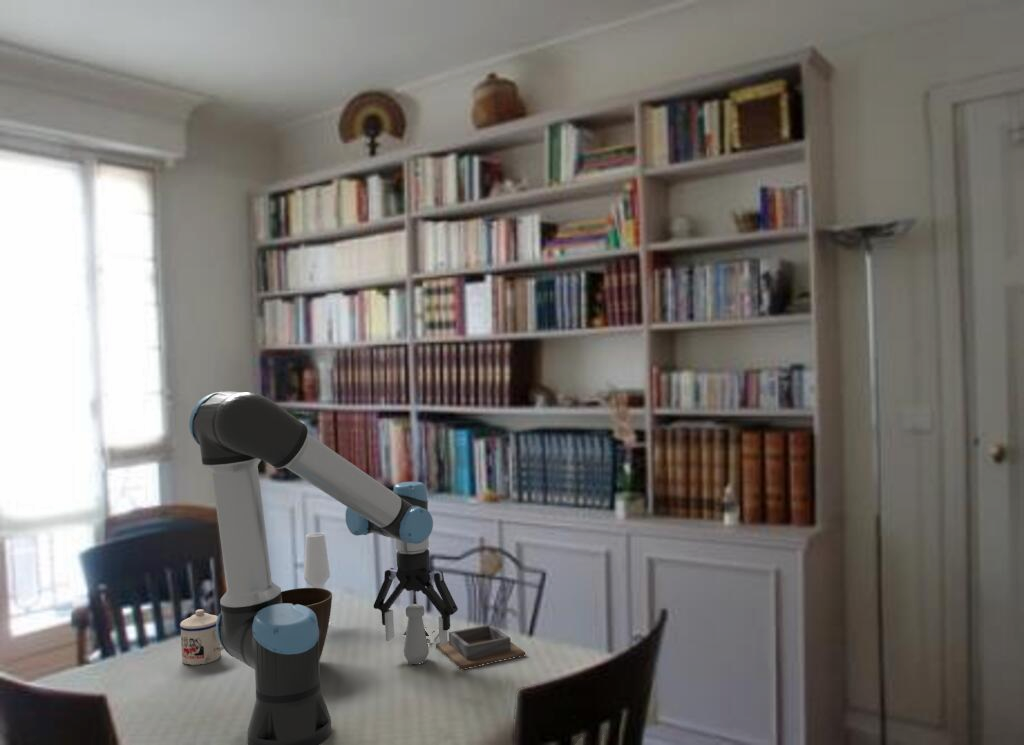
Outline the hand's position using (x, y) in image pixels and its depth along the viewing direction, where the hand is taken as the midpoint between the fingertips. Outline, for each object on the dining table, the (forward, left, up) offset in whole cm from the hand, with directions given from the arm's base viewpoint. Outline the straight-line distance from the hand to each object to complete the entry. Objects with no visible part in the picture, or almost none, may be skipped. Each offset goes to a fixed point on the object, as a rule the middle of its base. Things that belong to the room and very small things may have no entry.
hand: (416, 641), depth 187 cm
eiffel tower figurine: (+15, -6, -5) cm, 17 cm away
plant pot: (+11, +24, -5) cm, 27 cm away
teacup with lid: (+27, +43, -5) cm, 51 cm away
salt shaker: (0, 0, -5) cm, 5 cm away
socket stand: (-2, -15, -5) cm, 16 cm away
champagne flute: (+38, +14, -5) cm, 41 cm away
